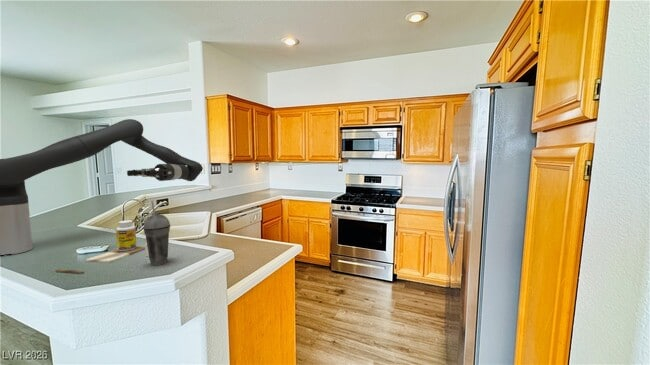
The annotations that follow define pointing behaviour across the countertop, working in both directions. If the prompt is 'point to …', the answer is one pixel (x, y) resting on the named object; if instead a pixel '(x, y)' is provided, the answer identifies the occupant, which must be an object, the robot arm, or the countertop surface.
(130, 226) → the supplement bottle
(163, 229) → the beverage cup
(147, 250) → the die
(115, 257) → the game track
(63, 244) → the countertop surface
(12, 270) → the countertop surface
